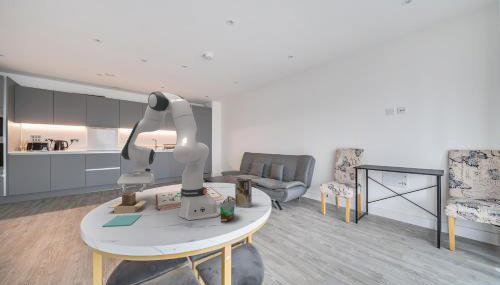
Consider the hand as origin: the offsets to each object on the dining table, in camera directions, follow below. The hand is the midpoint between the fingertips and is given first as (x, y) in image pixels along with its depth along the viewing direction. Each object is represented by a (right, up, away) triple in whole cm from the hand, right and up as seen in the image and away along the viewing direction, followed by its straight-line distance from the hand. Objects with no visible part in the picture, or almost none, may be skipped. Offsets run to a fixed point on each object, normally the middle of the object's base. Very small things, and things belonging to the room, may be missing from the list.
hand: (132, 191), depth 112 cm
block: (0, -9, -4) cm, 10 cm away
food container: (+60, -10, -16) cm, 63 cm away
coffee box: (+66, -10, +5) cm, 67 cm away
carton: (0, -9, -4) cm, 10 cm away
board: (+8, -9, -19) cm, 22 cm away
